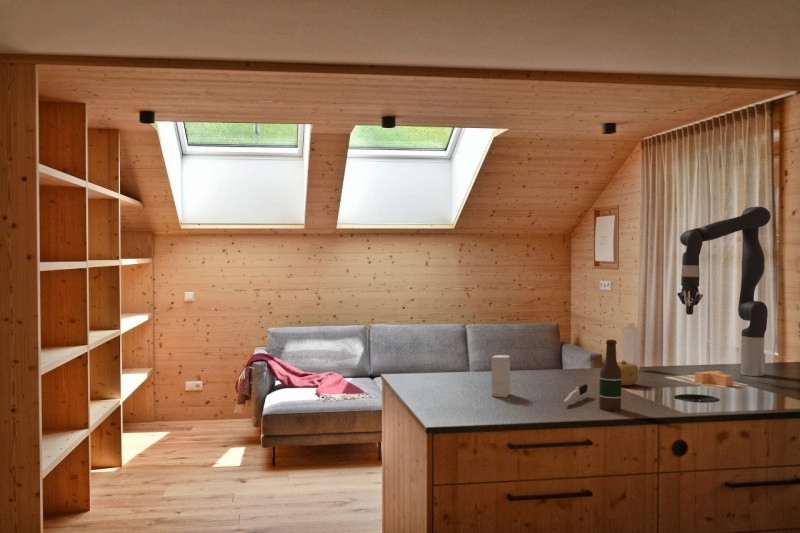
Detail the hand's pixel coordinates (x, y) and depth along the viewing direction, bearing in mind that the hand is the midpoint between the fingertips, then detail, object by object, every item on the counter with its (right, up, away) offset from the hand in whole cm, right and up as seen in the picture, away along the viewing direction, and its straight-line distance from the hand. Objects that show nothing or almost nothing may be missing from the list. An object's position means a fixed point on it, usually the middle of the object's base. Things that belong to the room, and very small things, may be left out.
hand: (689, 314), depth 322 cm
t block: (+1, -27, -25) cm, 37 cm away
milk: (-23, -27, +10) cm, 37 cm away
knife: (-65, -28, -59) cm, 93 cm away
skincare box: (-91, -27, -49) cm, 107 cm away
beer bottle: (-56, -28, -71) cm, 94 cm away
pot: (-37, -27, -25) cm, 52 cm away
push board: (-1, -28, -19) cm, 34 cm away
